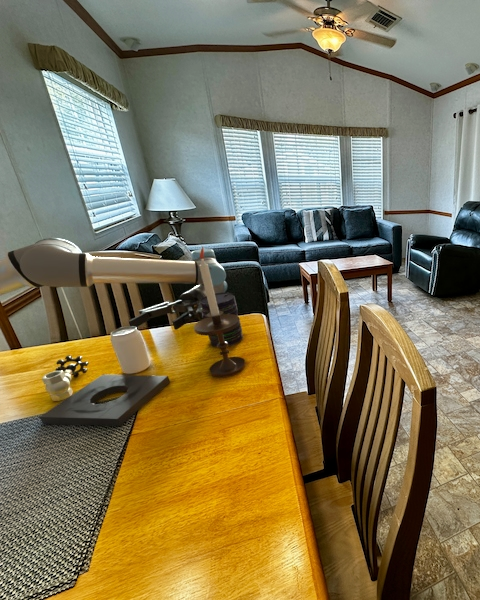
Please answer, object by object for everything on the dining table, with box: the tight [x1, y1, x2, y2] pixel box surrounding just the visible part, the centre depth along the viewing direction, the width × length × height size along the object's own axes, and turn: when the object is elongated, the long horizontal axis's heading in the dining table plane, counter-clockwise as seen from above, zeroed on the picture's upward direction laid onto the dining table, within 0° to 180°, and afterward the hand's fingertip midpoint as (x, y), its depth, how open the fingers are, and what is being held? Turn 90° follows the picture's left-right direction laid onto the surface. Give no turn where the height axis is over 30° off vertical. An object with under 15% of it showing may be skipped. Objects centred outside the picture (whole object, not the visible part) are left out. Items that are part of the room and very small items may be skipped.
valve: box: [41, 354, 90, 402], centre depth 83 cm, size 7×7×12 cm
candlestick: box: [193, 246, 246, 378], centre depth 86 cm, size 11×11×35 cm
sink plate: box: [39, 374, 171, 427], centre depth 80 cm, size 18×16×2 cm
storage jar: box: [200, 292, 244, 348], centre depth 105 cm, size 10×10×15 cm
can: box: [110, 325, 151, 375], centre depth 91 cm, size 6×6×12 cm
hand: (152, 325), depth 98 cm, fingers open, 13 cm apart
